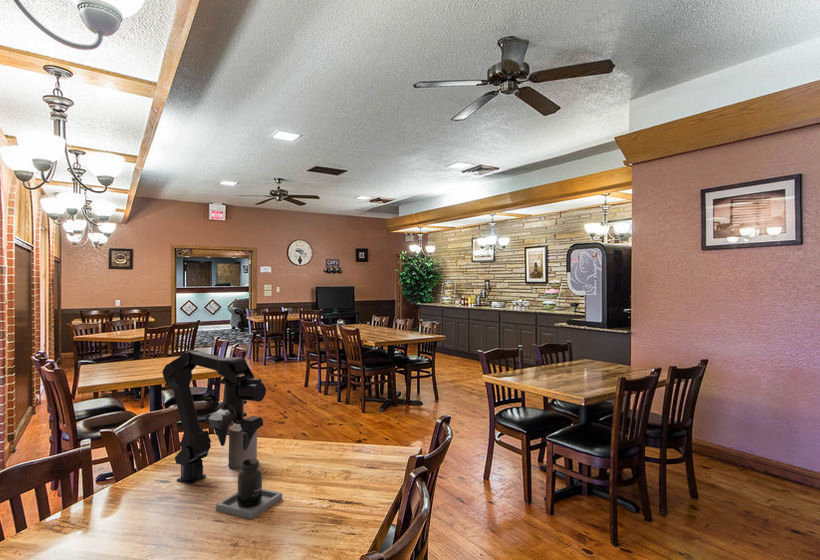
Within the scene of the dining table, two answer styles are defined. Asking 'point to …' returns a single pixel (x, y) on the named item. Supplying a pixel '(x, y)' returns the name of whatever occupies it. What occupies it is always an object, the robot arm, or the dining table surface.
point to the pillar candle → (240, 448)
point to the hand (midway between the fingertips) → (233, 447)
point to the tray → (250, 513)
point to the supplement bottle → (249, 484)
